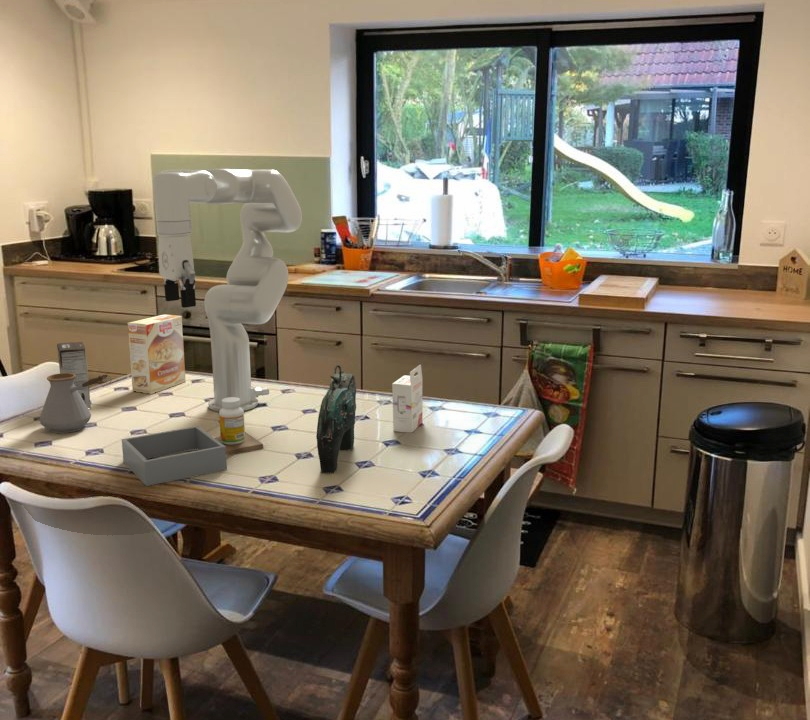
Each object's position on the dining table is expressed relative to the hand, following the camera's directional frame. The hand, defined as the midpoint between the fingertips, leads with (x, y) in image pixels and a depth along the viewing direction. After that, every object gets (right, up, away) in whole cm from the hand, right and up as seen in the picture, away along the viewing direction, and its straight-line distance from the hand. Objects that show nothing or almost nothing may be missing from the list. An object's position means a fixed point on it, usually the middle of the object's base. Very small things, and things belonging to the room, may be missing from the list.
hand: (180, 303), depth 194 cm
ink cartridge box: (+52, -29, +8) cm, 60 cm away
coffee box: (-34, -25, +27) cm, 50 cm away
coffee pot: (-25, -30, +6) cm, 40 cm away
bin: (+3, -35, -17) cm, 39 cm away
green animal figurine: (+37, -34, -13) cm, 52 cm away
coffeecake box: (-18, -21, +45) cm, 53 cm away
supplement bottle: (+13, -31, -5) cm, 34 cm away
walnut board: (+13, -32, -5) cm, 35 cm away
